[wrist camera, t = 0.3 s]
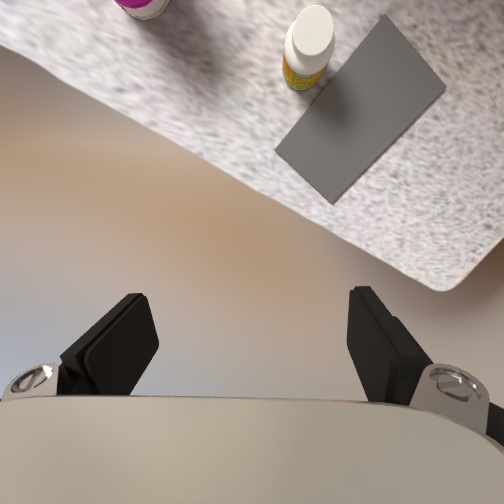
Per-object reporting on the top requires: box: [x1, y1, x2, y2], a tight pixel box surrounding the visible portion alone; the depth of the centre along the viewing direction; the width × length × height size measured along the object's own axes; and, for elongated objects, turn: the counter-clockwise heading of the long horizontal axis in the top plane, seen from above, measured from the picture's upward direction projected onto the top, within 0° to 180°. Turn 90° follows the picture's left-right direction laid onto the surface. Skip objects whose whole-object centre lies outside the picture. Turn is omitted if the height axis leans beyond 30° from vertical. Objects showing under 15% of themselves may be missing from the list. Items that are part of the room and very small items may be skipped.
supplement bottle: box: [283, 5, 335, 90], centre depth 28 cm, size 5×5×10 cm
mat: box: [275, 14, 447, 203], centre depth 34 cm, size 20×12×1 cm, turn 140°
